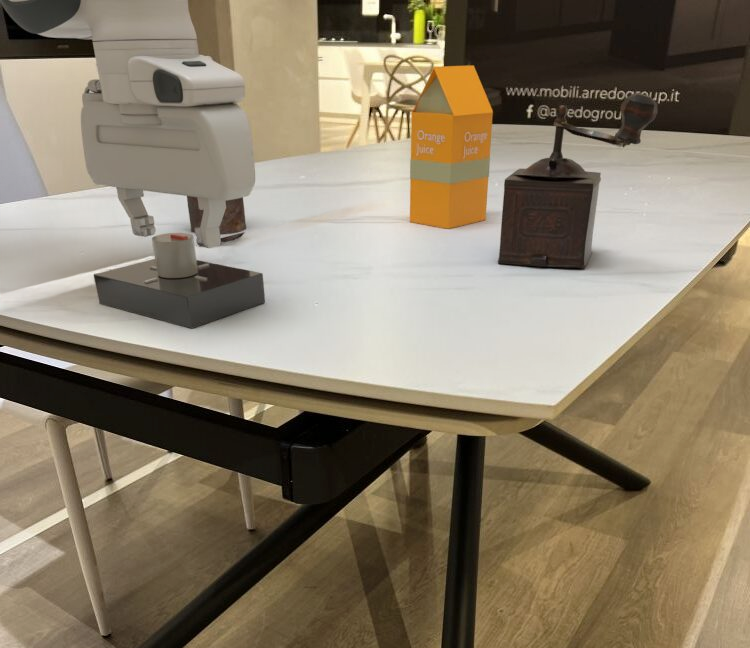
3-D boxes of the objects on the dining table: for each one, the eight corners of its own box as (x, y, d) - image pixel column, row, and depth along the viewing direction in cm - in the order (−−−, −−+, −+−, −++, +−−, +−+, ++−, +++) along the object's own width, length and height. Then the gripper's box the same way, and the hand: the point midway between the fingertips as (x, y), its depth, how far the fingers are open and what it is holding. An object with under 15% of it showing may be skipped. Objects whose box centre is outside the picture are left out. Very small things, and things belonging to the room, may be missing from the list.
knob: (149, 274, 74) (142, 235, 72) (179, 266, 77) (174, 228, 75) (175, 280, 72) (169, 240, 70) (206, 271, 75) (201, 232, 73)
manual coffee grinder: (493, 265, 88) (506, 92, 79) (510, 244, 97) (523, 87, 88) (629, 275, 84) (660, 94, 74) (633, 253, 93) (661, 88, 83)
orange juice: (408, 221, 110) (411, 66, 100) (447, 213, 116) (452, 65, 105) (449, 229, 106) (456, 67, 95) (487, 220, 111) (497, 65, 101)
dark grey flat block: (99, 303, 76) (92, 272, 75) (174, 281, 83) (169, 253, 82) (191, 328, 69) (187, 294, 68) (265, 302, 76) (262, 271, 74)
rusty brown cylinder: (212, 233, 105) (191, 70, 95) (258, 236, 103) (241, 69, 92) (181, 244, 99) (156, 72, 89) (229, 248, 97) (208, 71, 86)
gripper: (51, 80, 69) (84, 234, 76) (203, 81, 59) (224, 260, 66) (107, 77, 73) (134, 224, 80) (258, 78, 63) (273, 246, 70)
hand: (176, 240), depth 73 cm, fingers open, 8 cm apart
